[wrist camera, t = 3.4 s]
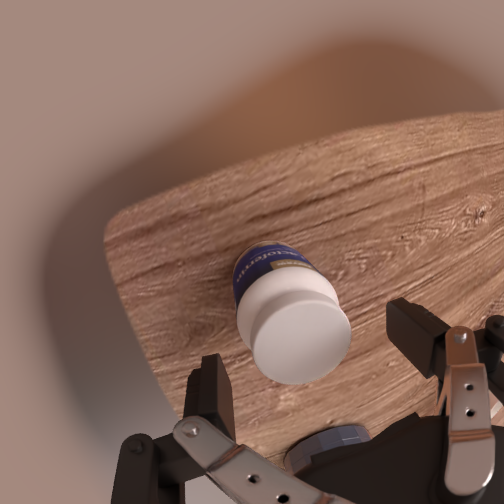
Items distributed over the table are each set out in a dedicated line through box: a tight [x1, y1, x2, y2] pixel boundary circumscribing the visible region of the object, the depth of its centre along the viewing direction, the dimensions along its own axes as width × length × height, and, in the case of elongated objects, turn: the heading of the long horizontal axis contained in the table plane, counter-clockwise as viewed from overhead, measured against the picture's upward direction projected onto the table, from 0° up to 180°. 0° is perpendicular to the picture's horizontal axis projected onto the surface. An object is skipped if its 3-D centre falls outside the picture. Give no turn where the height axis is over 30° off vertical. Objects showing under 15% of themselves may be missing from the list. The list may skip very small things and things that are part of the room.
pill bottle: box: [233, 241, 351, 385], centre depth 16 cm, size 6×6×10 cm
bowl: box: [284, 425, 373, 475], centre depth 26 cm, size 12×12×5 cm
